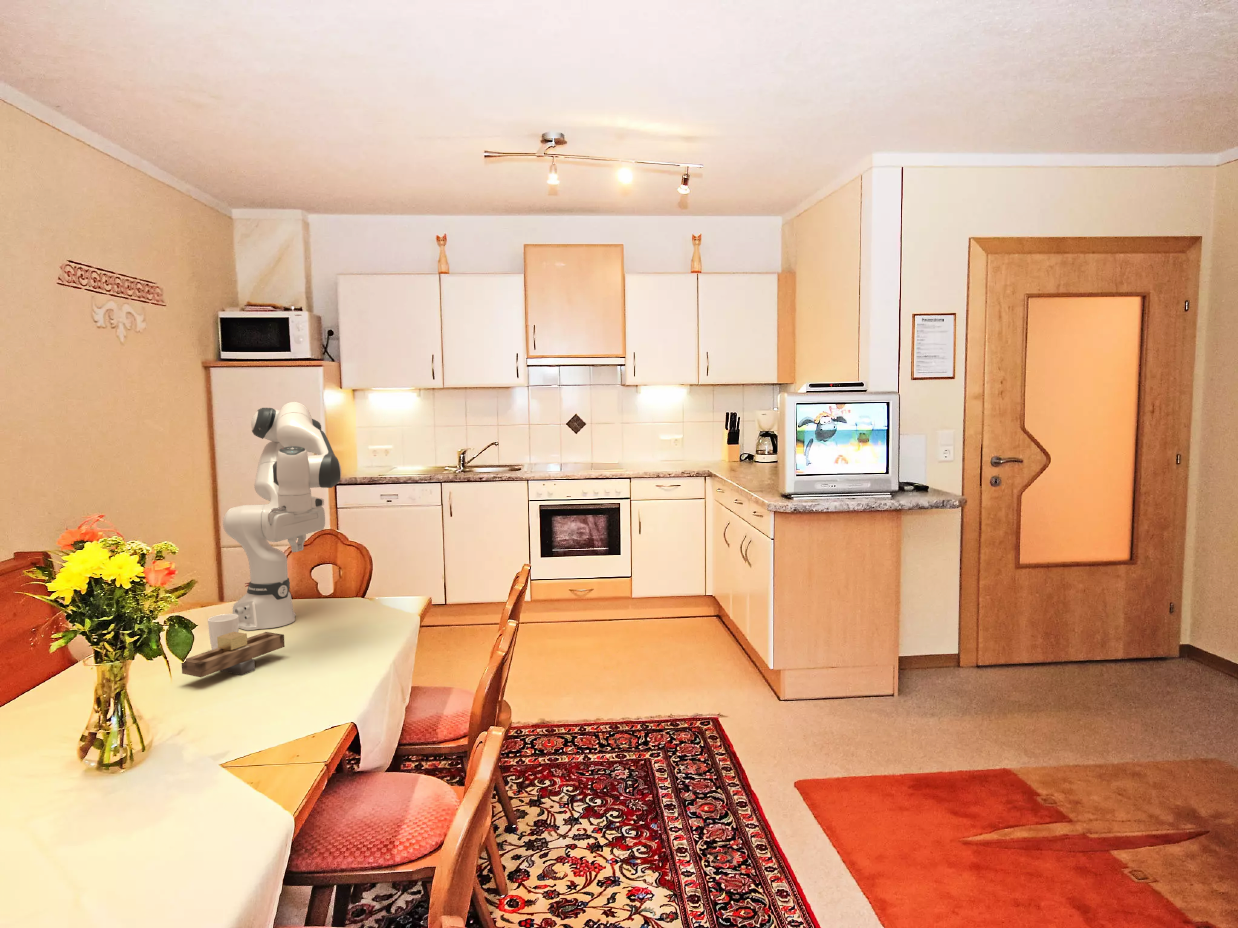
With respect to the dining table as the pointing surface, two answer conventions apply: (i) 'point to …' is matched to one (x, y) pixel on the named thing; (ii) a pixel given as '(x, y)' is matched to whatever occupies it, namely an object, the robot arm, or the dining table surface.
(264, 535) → the robot arm
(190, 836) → the dining table surface
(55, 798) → the dining table surface
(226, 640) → the rider
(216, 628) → the white cup
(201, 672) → the beam
